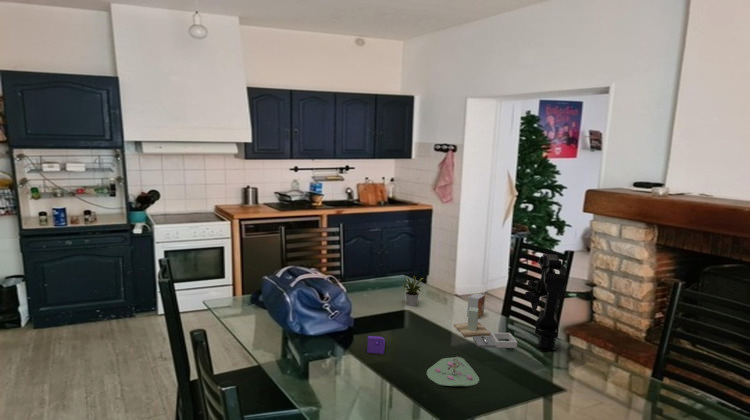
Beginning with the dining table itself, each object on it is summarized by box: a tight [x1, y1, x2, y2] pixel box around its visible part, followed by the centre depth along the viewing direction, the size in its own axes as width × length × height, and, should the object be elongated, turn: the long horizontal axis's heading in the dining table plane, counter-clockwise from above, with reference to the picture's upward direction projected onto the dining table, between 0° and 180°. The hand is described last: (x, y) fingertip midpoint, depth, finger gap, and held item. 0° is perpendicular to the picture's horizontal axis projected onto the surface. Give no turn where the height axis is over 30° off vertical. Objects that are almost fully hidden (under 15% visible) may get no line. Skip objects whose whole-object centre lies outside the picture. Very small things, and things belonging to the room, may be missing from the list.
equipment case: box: [472, 332, 518, 349], centre depth 218 cm, size 17×10×2 cm, turn 93°
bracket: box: [366, 335, 386, 355], centre depth 210 cm, size 12×7×7 cm, turn 177°
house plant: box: [401, 275, 424, 307], centre depth 261 cm, size 14×14×16 cm
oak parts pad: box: [453, 322, 491, 338], centre depth 231 cm, size 13×13×1 cm
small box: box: [466, 292, 486, 319], centre depth 249 cm, size 8×6×10 cm
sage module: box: [467, 307, 479, 331], centre depth 230 cm, size 4×5×10 cm
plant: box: [426, 355, 480, 387], centre depth 191 cm, size 25×21×9 cm
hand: (541, 310), depth 230 cm, fingers open, 9 cm apart
